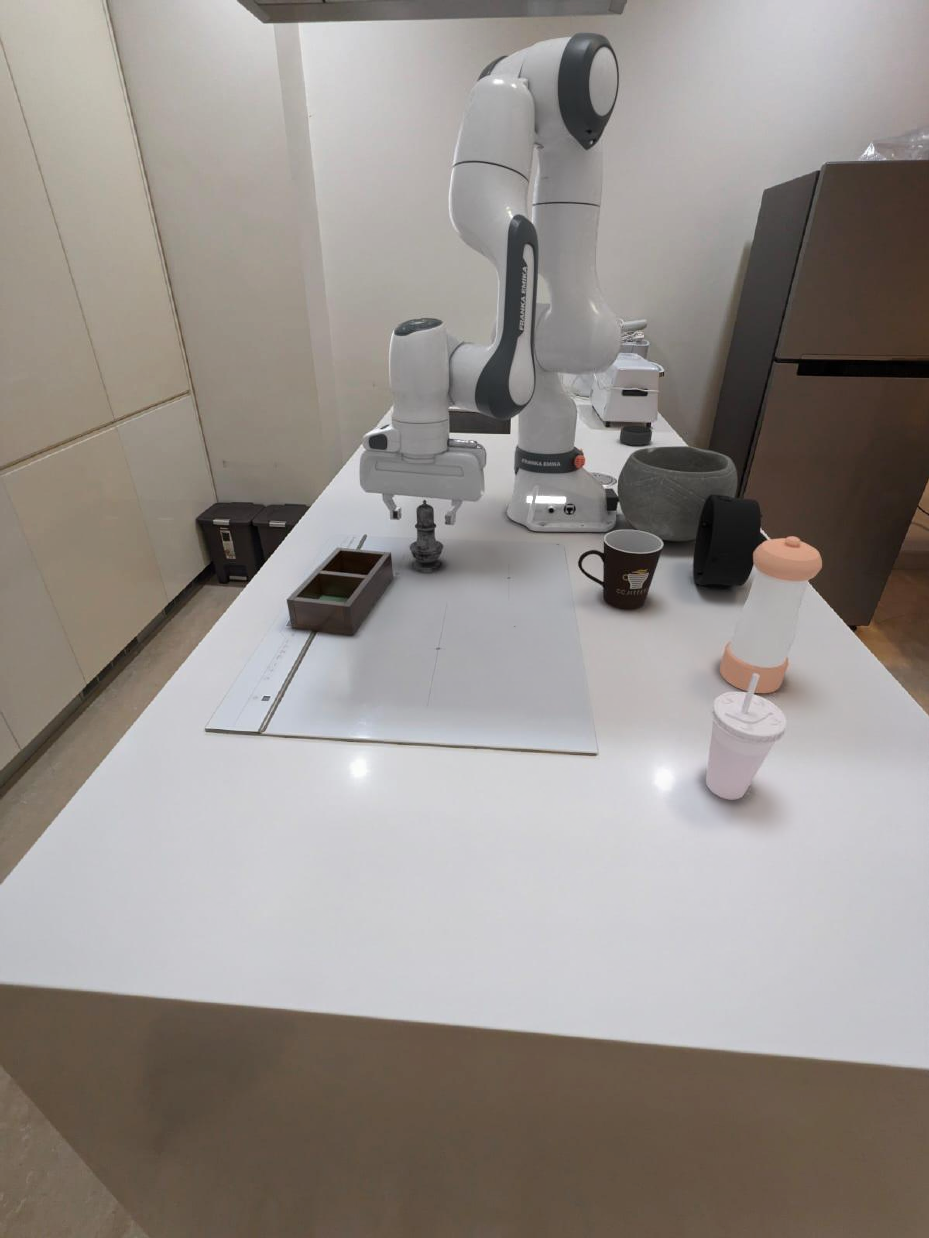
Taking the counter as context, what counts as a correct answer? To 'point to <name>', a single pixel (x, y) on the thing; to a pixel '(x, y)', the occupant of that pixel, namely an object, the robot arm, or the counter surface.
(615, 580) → the coffee mug
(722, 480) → the bowl
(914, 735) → the counter surface
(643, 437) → the smart speaker
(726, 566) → the black cylinder
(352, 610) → the divided wooden box
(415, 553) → the salt shaker
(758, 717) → the smoothie
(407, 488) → the robot arm
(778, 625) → the pepper shaker
